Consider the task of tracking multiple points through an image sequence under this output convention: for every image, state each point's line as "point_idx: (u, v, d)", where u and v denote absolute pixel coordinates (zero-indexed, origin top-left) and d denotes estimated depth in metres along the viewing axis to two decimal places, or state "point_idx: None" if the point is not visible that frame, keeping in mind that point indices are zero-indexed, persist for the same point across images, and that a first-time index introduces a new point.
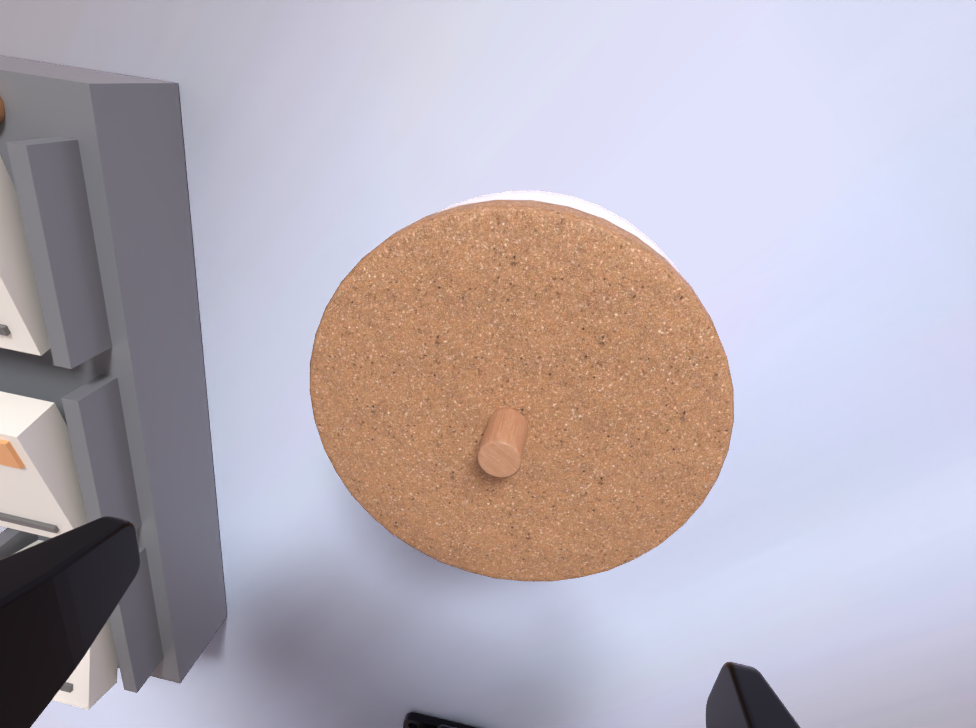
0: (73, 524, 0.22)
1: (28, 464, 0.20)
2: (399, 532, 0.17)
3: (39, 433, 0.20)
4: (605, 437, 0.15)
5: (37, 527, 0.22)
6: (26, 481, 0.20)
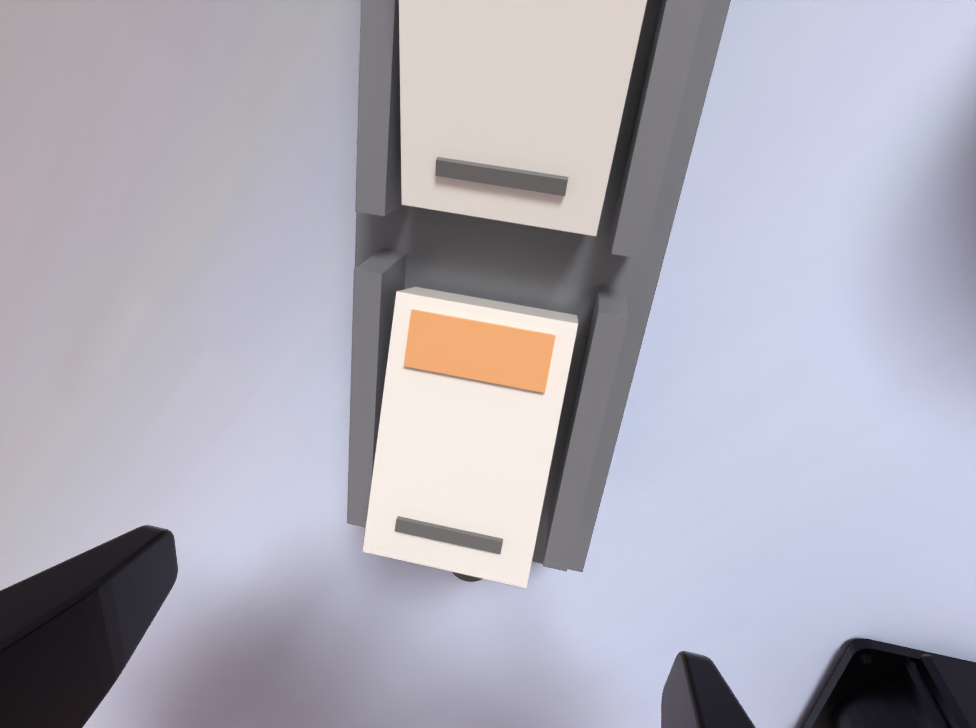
0: None
1: None
2: None
3: None
4: None
5: (526, 183, 0.11)
6: (592, 16, 0.09)
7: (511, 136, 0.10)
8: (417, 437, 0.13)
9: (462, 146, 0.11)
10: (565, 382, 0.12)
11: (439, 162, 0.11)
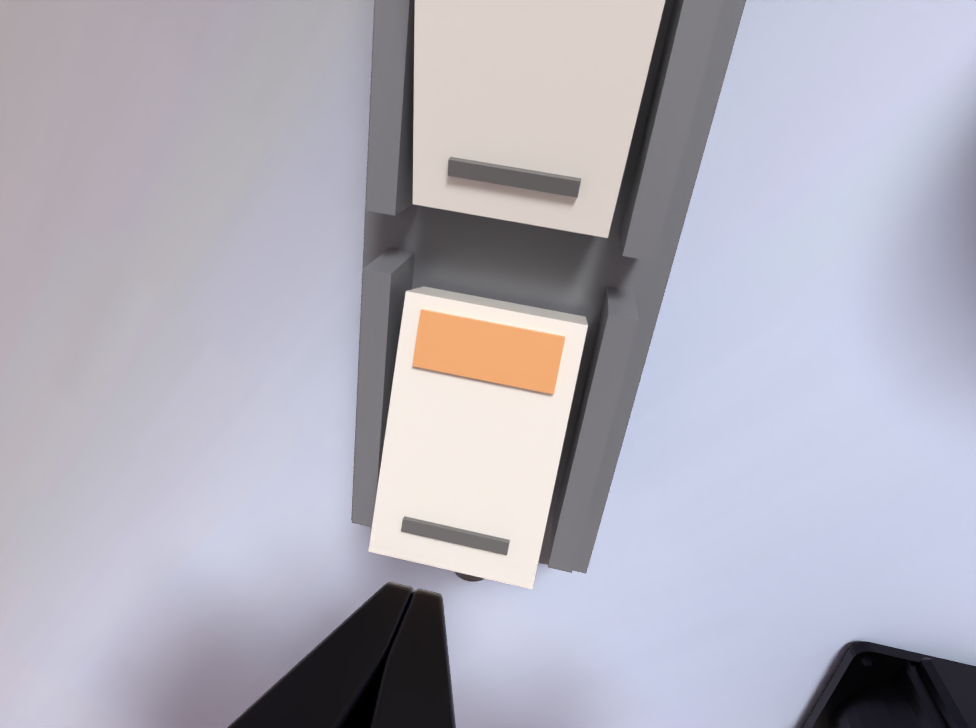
0: (623, 172, 0.11)
1: None
2: None
3: None
4: None
5: (538, 184, 0.11)
6: (609, 17, 0.09)
7: (524, 137, 0.10)
8: (425, 437, 0.13)
9: (475, 146, 0.11)
10: (574, 384, 0.12)
11: (451, 162, 0.11)
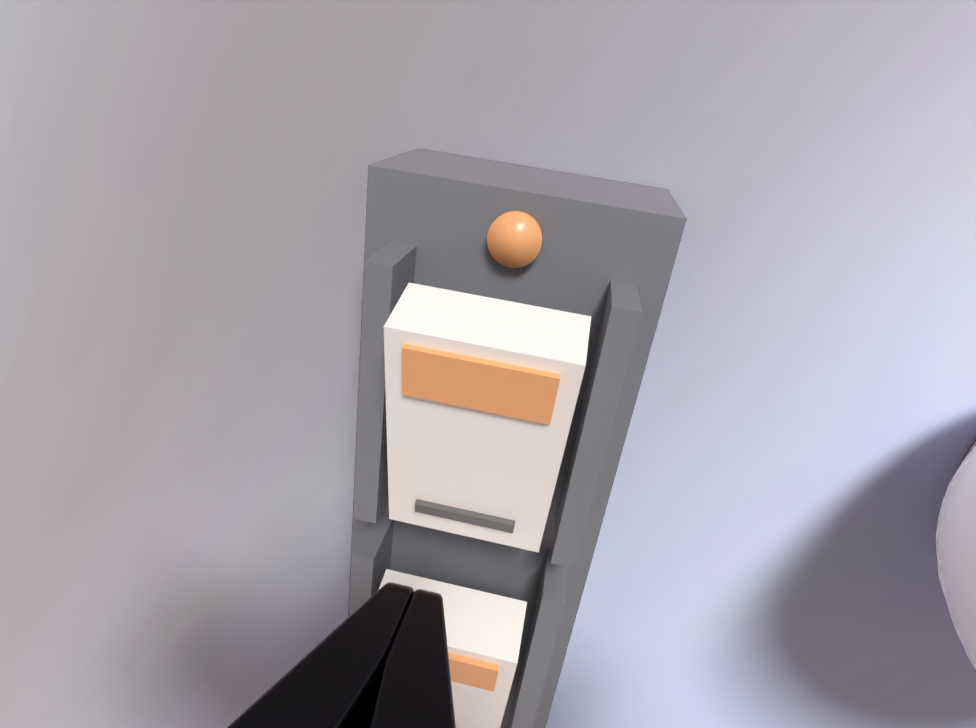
0: None
1: (504, 685, 0.15)
2: None
3: None
4: None
5: None
6: (478, 697, 0.16)
7: None
8: None
9: None
10: None
11: None
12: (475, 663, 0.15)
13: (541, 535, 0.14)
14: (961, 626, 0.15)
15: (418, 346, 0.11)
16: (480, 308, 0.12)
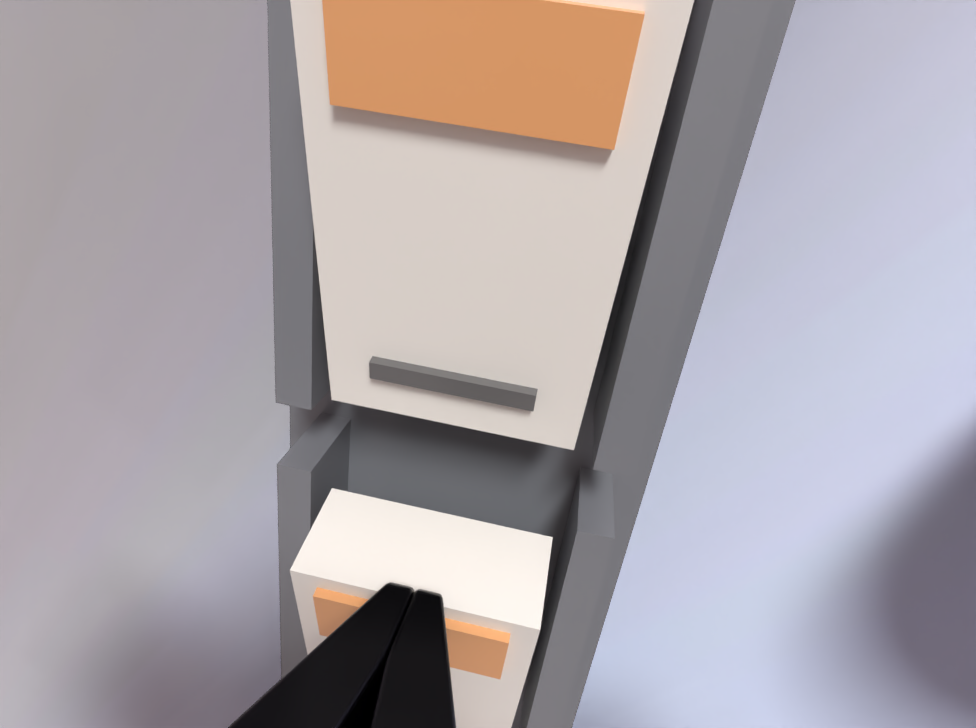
0: None
1: (517, 668, 0.09)
2: None
3: None
4: None
5: None
6: (476, 689, 0.10)
7: None
8: None
9: None
10: None
11: None
12: (470, 631, 0.09)
13: (580, 416, 0.09)
14: None
15: None
16: None
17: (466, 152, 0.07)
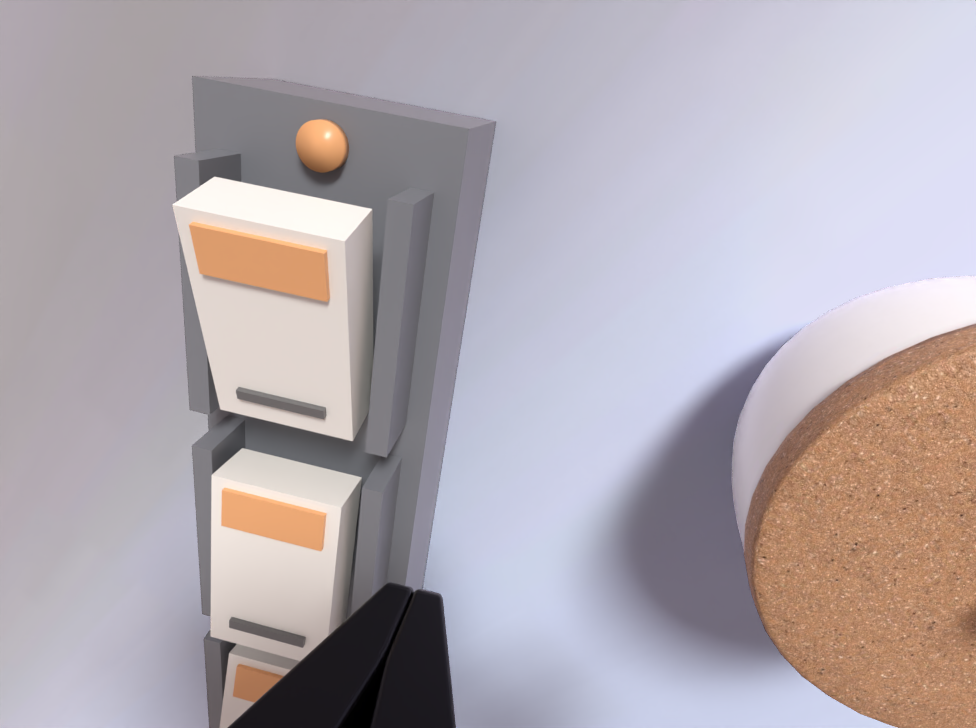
0: None
1: (331, 545, 0.17)
2: (820, 679, 0.14)
3: (348, 509, 0.17)
4: None
5: (280, 638, 0.18)
6: (309, 570, 0.17)
7: (272, 613, 0.18)
8: None
9: (245, 614, 0.18)
10: None
11: (230, 621, 0.18)
12: (304, 510, 0.17)
13: (351, 422, 0.16)
14: (736, 518, 0.16)
15: (206, 224, 0.13)
16: (270, 198, 0.13)
17: (266, 296, 0.14)
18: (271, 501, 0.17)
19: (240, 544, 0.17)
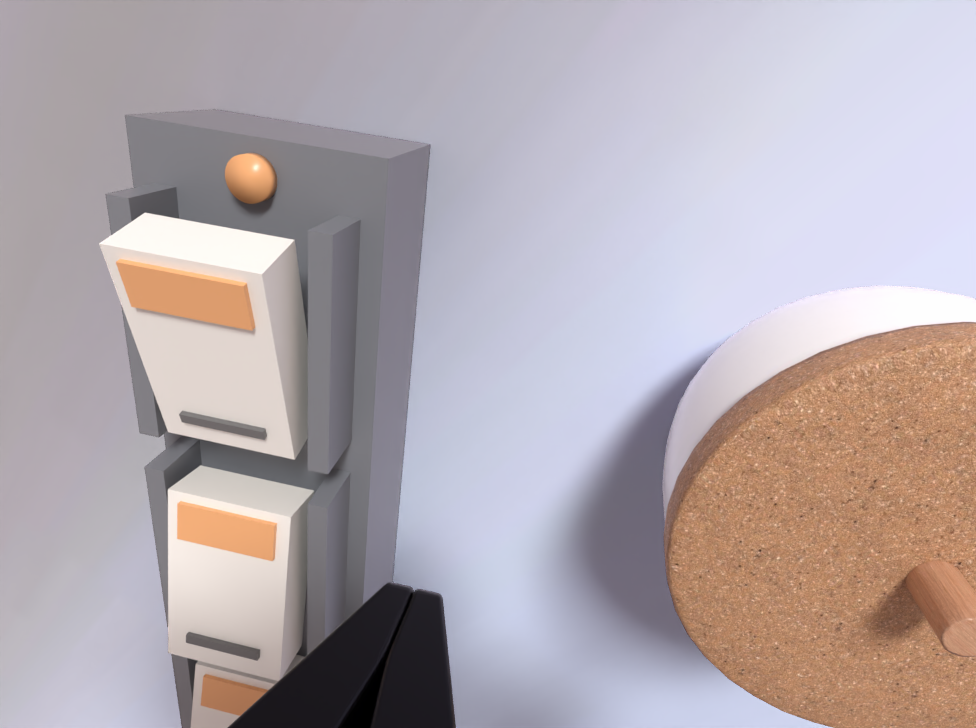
0: (282, 648, 0.19)
1: (282, 555, 0.18)
2: (742, 679, 0.15)
3: (299, 520, 0.18)
4: None
5: (235, 652, 0.19)
6: (262, 581, 0.18)
7: (227, 627, 0.19)
8: None
9: (201, 628, 0.19)
10: None
11: (187, 636, 0.19)
12: (256, 520, 0.17)
13: (290, 442, 0.16)
14: None
15: (132, 261, 0.13)
16: (197, 232, 0.14)
17: (196, 325, 0.14)
18: (224, 512, 0.17)
19: (195, 557, 0.18)
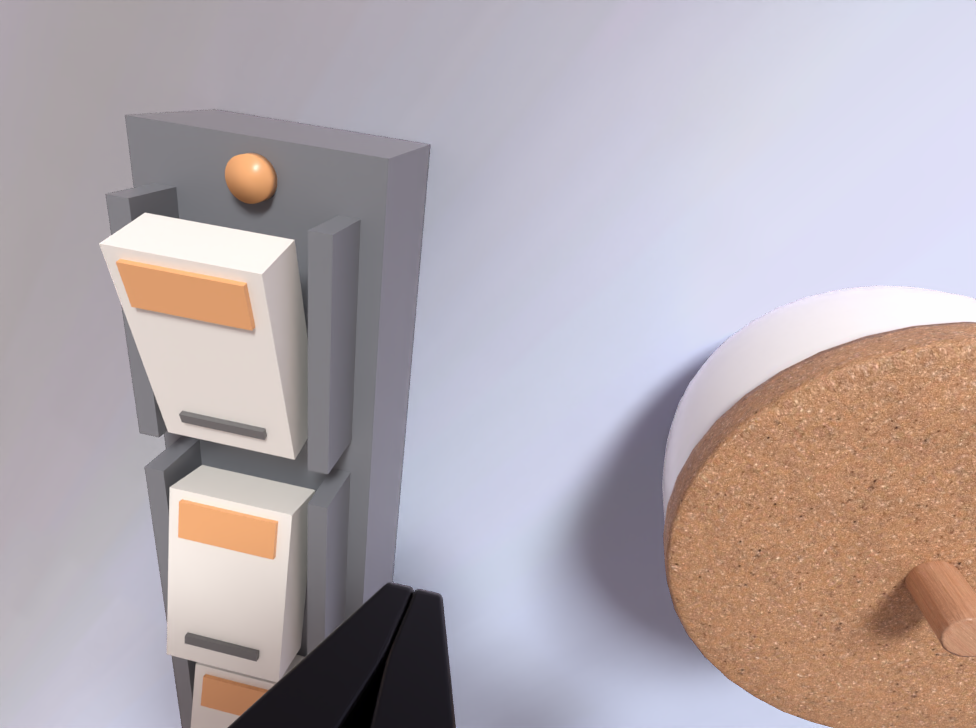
0: (282, 649, 0.19)
1: (282, 553, 0.18)
2: (741, 679, 0.15)
3: (300, 519, 0.18)
4: None
5: (234, 652, 0.19)
6: (262, 580, 0.18)
7: (227, 627, 0.19)
8: None
9: (200, 629, 0.19)
10: None
11: (186, 636, 0.19)
12: (257, 518, 0.17)
13: (290, 442, 0.16)
14: None
15: (132, 261, 0.13)
16: (197, 232, 0.14)
17: (196, 325, 0.14)
18: (226, 510, 0.17)
19: (195, 556, 0.18)
